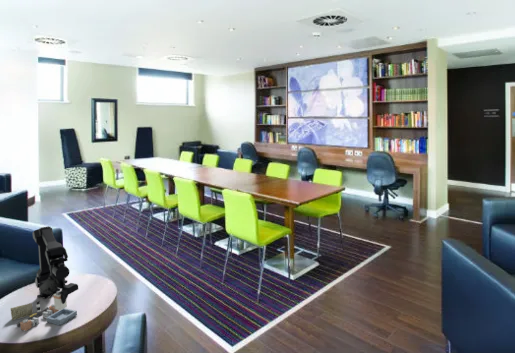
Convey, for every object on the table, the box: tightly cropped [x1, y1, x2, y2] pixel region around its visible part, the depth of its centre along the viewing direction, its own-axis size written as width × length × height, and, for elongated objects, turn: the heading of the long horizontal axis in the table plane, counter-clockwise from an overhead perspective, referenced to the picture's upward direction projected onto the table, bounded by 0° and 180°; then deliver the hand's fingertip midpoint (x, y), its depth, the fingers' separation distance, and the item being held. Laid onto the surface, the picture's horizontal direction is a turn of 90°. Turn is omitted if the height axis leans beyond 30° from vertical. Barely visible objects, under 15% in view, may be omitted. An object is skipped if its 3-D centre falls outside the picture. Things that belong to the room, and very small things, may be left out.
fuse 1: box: [19, 318, 33, 332], centre depth 168 cm, size 3×3×4 cm
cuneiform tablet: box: [10, 300, 41, 321], centre depth 178 cm, size 7×4×12 cm
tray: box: [46, 307, 78, 326], centre depth 176 cm, size 9×10×2 cm
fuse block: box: [16, 306, 53, 328], centre depth 175 cm, size 7×16×2 cm, turn 160°
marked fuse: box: [52, 290, 68, 310], centre depth 175 cm, size 4×4×8 cm
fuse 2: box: [49, 303, 59, 314], centre depth 182 cm, size 3×3×4 cm
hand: (60, 302), depth 175 cm, fingers closed on marked fuse, 4 cm apart
